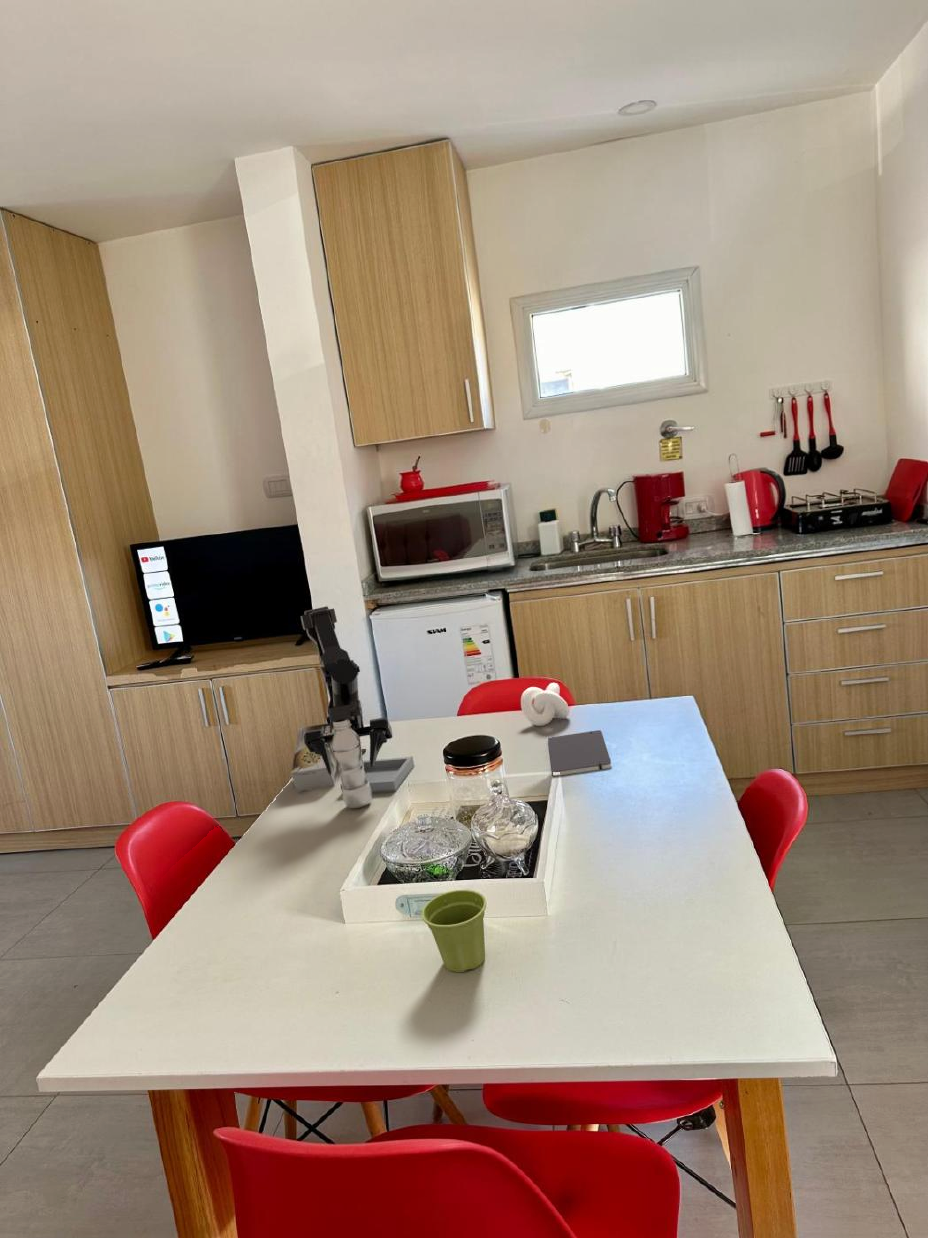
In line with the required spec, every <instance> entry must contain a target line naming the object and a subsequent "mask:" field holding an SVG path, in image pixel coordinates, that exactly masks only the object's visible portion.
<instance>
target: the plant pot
mask: <svg viewBox="0 0 928 1238" xmlns="http://www.w3.org/2000/svg"><path fill="white" fill-rule="evenodd" d="M486 908H487V900H486V897H485V896H484V895H483V894H482V893H480V892H479V891H475V890H471V889H455V890H451V891H447V892H444V893H441V894H439V895H437V896H435V897H433V898H432V899H431V900H429V901H428V902H427V903H426V904H425V905H424V906H423V908H422V910H421V917H422V921H423V922H424V923H425V924H426V925H427V926H428V928H429V930H430V931H431V933H432V936H433V939H434V941H435V944H436V946H437V949H438V951H439V955H440V957H441V959H442V962H443V965H444V967H445V968H446V969H447V970H448V971H450V972H453V973H464V972H466V971H467V970H475V969H477V968H478V967H479V966H481V965H482V964H483V963H484V961H485V960H486V946H485V944H486V943H485V925H484V917H485V910H486Z"/></svg>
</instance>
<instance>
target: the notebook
mask: <svg viewBox="0 0 928 1238" xmlns="http://www.w3.org/2000/svg"><path fill="white" fill-rule="evenodd" d="M547 742H548V749H549V755H550V758H549V759H550V765H551V771H552V772H560V774H561V775H560V776H564V775H571V774H576V773H577V774H578V773H583V772H585V773H586V772H591V771H596V770H603V769H610V768H611V767H612V764H611V763H612V761H611V757H610V754H609V751H608V748H607V746H606V741H605V738H604V735H603V733H602V730H600V729H598V730H597V729H596V730H589V731H585V732H578V733H572V734H571V733H570V734H565V735H564V734H563V735H558V736H553V737H547ZM552 772H551V773H552Z"/></svg>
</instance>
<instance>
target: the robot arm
mask: <svg viewBox="0 0 928 1238" xmlns="http://www.w3.org/2000/svg"><path fill="white" fill-rule="evenodd" d="M300 620H301V625H302V628H303V630H304V631H305V630H306V634H307V637H308V638H309V639H310V640H311V641H312V642H313V643H314V644H315V646H316V649H317V652H318V657H319V660H320V665H321V667H320V672H321V673H320V674H321V677H322V681H323V683H324V684H325V686H326V688H327V689H326V690H327V694H328V698H329V701H328V702H329V703H328V705H327V708H326V715H327V716H325V724H328V723H332V728H333V727H334V726H333V722H337V721H344V720H347V719H348V720H350V723H351V727H350V728H351V729H352V730H354V731H355V732H356V733H357V734H358V736H359V737H360V738H361V737H367V736H369V741H370V742H369V760H370V765H371V767H374V764H375V761H376V760H377V758H378V754H379V752H380V751H381V748H382V746H383V744H386V743H387V742H388V740H391V739H392V738H394V737H393V736H394V735H393V730H392V726H391V723H390V721H389V719H388V718H386V717H380V718H372V719H370V720H369V726H368V725H367V726H365V725H364V717H363V707H362V703H361V700H360V699H359V697H360V696H359V684H358V683H359V681H358V680H359V679H358V677H359V673H360V672H361V669H360V666H359V665H358V664H357V663H355V662H354V659H351V658H350V655H349V653H348V651H347V650H345V649H343V648H342V647H341V645H340V643H339V640H338V637H337V633H336V631H335V629H336V626H335V624H336V623H337V622H338V620H337V616H336V610H335V608H329V606H328V605H326V606H322V607H318V608H313V609H309V610H304V614H302V615H301V616H300ZM333 729H334V728H333ZM334 734H335V732H333V733H328V734H324V732H323V730H322V729H317V730H311V731H307V732H306V733H305V735H304V743H305V744H306V746H307V747H308V749H309V751H310V752H315V753H316V754H317V755H320V754H321V756H322V758H323V761H324V763H325V766H326V768H327V770H328V773H329V775H331V774H332V768H331V760H330V752H329V750H328V748H327V747H328V742H331V741H332V739H333V736H334ZM366 751H367V749H366V748H361V752H362V756H363V755H364V754H365V753H366Z"/></svg>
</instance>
